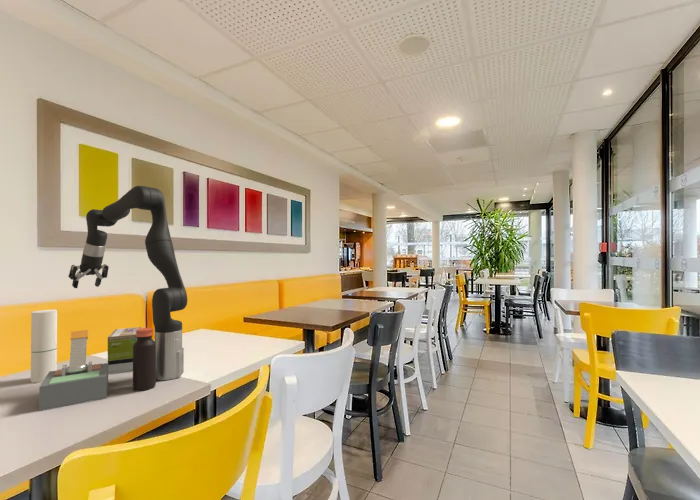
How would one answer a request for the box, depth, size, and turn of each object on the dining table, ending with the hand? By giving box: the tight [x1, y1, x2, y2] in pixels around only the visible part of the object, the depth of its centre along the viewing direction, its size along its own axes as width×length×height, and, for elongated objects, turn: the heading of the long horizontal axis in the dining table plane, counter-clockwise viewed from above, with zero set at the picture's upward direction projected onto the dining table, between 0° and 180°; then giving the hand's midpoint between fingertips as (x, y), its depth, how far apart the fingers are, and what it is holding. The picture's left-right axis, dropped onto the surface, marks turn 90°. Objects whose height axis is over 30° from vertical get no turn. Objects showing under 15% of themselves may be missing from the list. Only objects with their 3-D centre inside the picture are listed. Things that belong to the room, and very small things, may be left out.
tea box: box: [107, 326, 142, 375], centre depth 139 cm, size 15×10×15 cm
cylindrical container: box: [30, 309, 58, 384], centre depth 126 cm, size 7×7×25 cm
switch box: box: [38, 360, 109, 412], centre depth 111 cm, size 16×16×10 cm
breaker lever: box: [67, 329, 89, 374], centre depth 113 cm, size 5×3×14 cm, turn 123°
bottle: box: [132, 327, 157, 392], centre depth 117 cm, size 7×7×20 cm
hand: (86, 286), depth 154 cm, fingers open, 8 cm apart
